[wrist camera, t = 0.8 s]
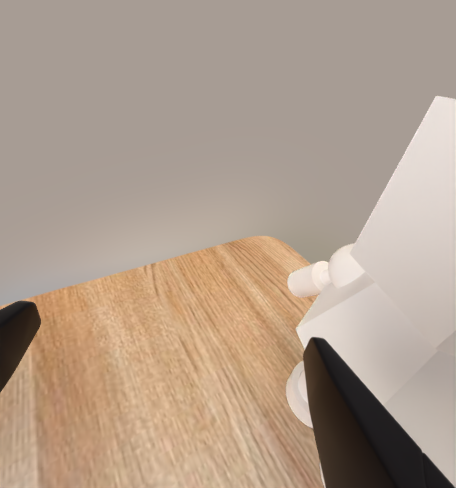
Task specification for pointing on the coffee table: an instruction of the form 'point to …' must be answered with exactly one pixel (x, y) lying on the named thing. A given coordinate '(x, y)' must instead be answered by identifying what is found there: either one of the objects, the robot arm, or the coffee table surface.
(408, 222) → the robot toy
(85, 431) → the coffee table surface
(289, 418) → the coffee table surface
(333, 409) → the robot arm
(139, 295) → the coffee table surface
